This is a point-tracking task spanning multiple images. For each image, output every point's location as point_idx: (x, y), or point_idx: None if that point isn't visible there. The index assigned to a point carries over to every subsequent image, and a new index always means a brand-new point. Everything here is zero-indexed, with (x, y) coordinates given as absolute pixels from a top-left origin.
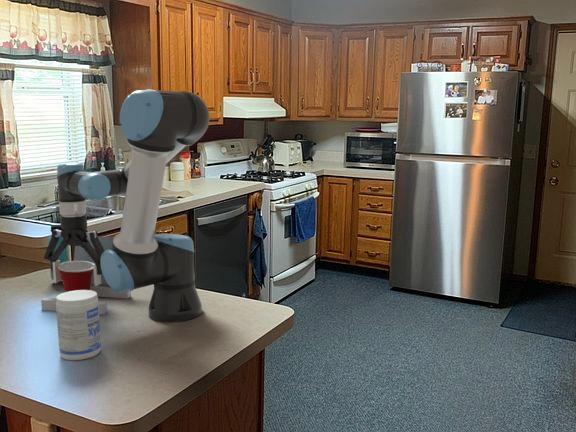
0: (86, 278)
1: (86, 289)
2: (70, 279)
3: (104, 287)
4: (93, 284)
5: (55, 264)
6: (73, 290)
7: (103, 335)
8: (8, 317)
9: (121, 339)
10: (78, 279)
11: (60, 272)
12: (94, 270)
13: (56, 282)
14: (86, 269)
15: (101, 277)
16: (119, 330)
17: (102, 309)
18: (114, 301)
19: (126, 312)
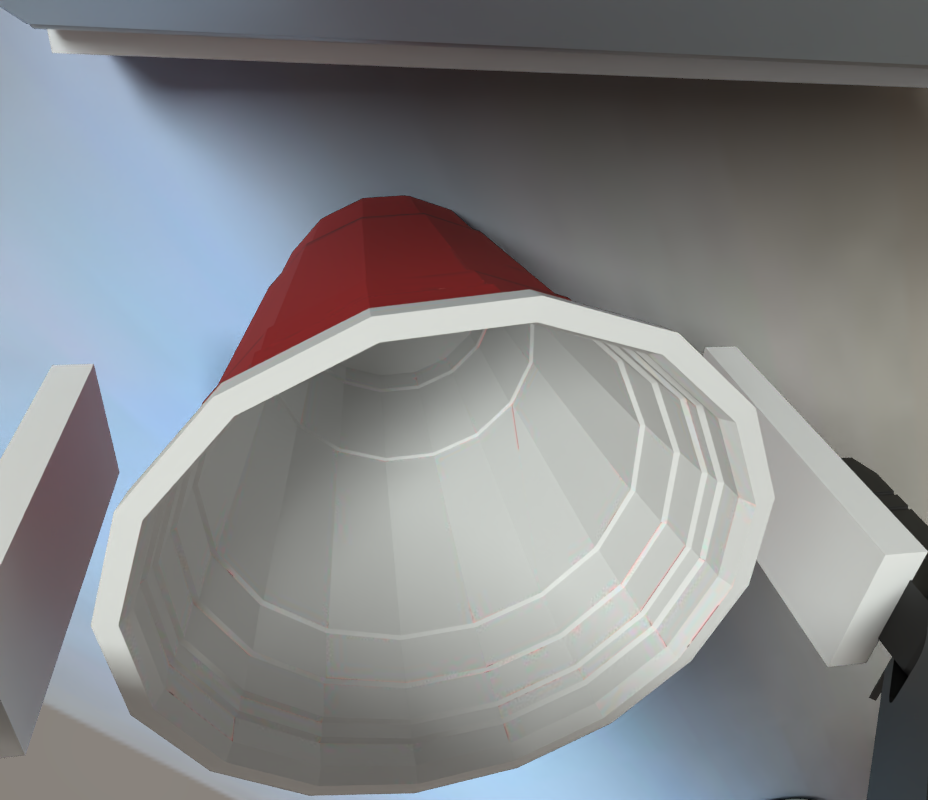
0: (610, 510)
1: (547, 400)
2: (443, 624)
3: (646, 62)
4: (474, 47)
5: (36, 700)
6: (440, 500)
7: (813, 714)
8: (67, 692)
9: None
10: (539, 591)
11: (259, 674)
12: (791, 591)
13: (116, 469)
14: (687, 645)
15: (639, 23)
16: (885, 656)
17: None
18: (756, 191)
19: (902, 426)
